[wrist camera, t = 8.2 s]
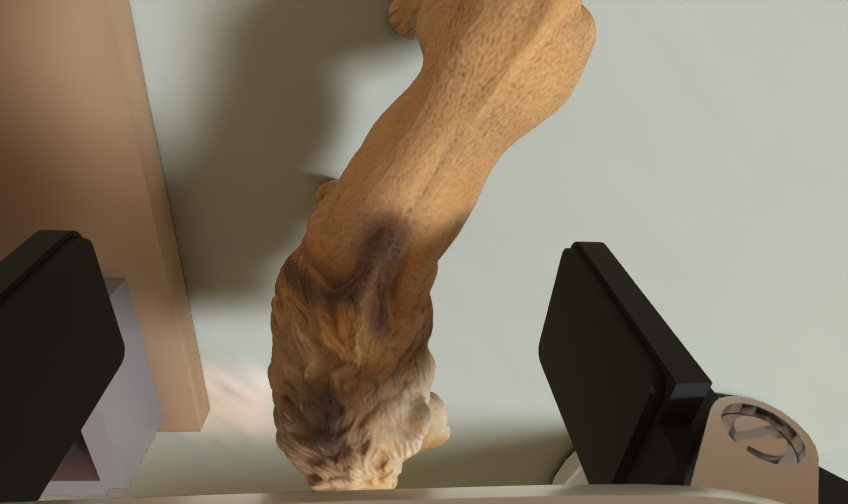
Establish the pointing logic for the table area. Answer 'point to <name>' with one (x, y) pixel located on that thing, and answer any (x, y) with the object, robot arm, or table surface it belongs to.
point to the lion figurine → (406, 234)
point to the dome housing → (114, 417)
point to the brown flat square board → (96, 172)
